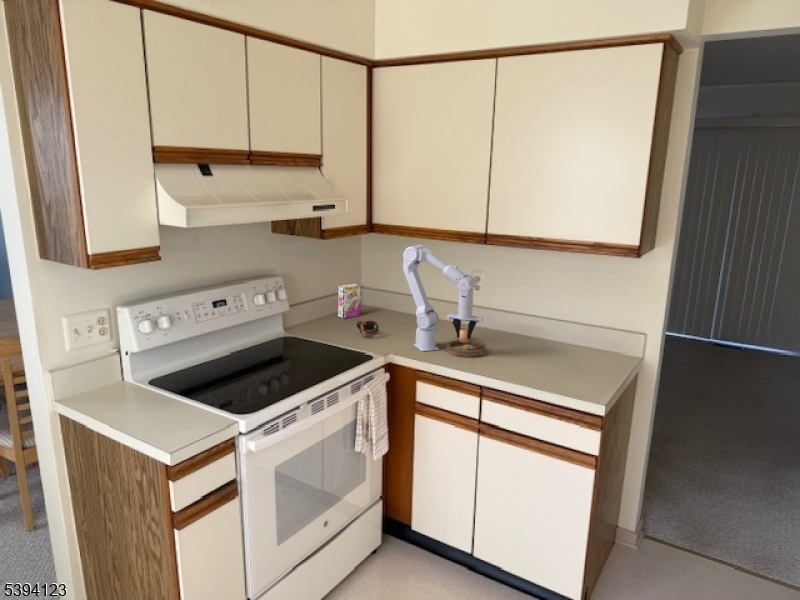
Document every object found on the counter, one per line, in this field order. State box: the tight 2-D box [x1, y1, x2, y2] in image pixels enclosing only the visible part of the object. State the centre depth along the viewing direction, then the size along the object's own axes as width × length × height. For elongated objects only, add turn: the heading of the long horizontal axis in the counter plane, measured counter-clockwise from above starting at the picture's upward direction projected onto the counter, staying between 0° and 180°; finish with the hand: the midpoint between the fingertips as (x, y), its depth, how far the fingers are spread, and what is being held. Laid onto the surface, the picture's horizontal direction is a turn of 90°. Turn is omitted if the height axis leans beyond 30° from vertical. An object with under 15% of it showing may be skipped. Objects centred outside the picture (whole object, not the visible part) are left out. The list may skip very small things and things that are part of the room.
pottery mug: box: [356, 319, 380, 339], centre depth 249 cm, size 12×10×8 cm
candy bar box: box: [337, 283, 362, 320], centre depth 279 cm, size 11×5×16 cm, turn 130°
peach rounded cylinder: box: [459, 327, 470, 343], centre depth 224 cm, size 4×4×5 cm
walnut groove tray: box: [446, 339, 486, 359], centre depth 229 cm, size 16×16×2 cm
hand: (463, 337), depth 224 cm, fingers closed on peach rounded cylinder, 4 cm apart
